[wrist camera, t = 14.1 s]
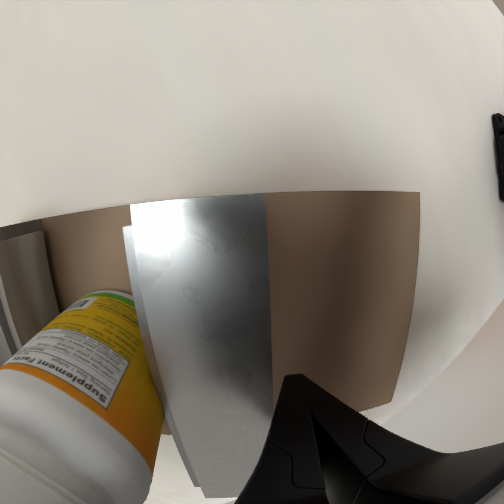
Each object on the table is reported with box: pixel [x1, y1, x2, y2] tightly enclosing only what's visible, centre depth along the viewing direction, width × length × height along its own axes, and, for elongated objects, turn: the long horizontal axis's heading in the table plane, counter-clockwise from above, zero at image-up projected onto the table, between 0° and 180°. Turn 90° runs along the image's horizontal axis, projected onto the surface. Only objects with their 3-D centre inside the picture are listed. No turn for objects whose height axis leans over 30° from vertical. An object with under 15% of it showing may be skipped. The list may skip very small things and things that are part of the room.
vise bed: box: [0, 191, 420, 435], centre depth 10 cm, size 20×12×6 cm, turn 94°
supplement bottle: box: [0, 290, 165, 504], centre depth 6 cm, size 5×5×10 cm
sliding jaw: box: [123, 193, 273, 498], centre depth 9 cm, size 3×12×4 cm, turn 4°
